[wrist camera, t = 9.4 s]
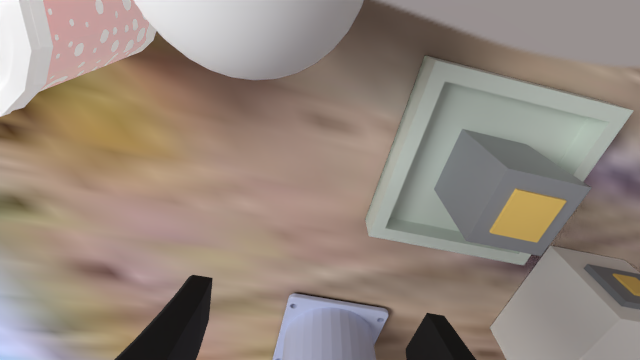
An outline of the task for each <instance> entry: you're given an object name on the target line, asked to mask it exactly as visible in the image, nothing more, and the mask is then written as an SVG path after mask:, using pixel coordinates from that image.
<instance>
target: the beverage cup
mask: <svg viewBox="0 0 640 360" xmlns="http://www.w3.org/2000/svg"><path fill="white" fill-rule="evenodd" d="M156 31H157V30H156V29H155V28H154V27H153V26H152V25H151V24H150V23H149V22H148V21H147V20H146V18H145V17H144V15H143V14H142V12H141V11H140V9H139V8H138V6H137V5H136V3H135V2H134V0H0V117H1V116H4V115H7V114H10V113H11V112H12V111H13V110H16V109H20V108H24V107H25V106H26V104H27V103H28V102H29V101H30V100H31V99H32V98H33V97H34V96H35V95H36V94H37V93H38V92H39V91H42V90H44V89H47V88H50V87H52V86H55V85H57V84H60V83H62V82H65V81H67V80H70V79H72V78H75V77H78V76H80V75H83V74H85V73H88V72H90V71H93V70H95V69H98V68H100V67H103V66H106V65H108V64H111V63H113V62H116V61H118V60H121V59H123V58H126V57H128V56H131V55H134V54H136V53H139V52H141V51H143V50H144V49H145V48H146V47H147V46H148V45H149V44H150V43H151V42H152V41H153V40H154V37H155V34H156Z"/></svg>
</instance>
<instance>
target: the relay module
mask: <svg viewBox="0 0 640 360" xmlns="http://www.w3.org/2000/svg"><path fill="white" fill-rule="evenodd" d="M590 189H591V187H590V186H588V185H587V184H585V183H584V182H582V181H581V180H579V179H578V178H576V177H575V176H573V175H572V174H570V173H569V172H567V171H566V170H564V169H563V168H561V167H560V166H558V165H557V164H555V163H554V162H552V161H551V160H549V159H548V158H546V157H545V156H543V155H542V154H540V153H539V152H537V151H536V150H534V149H533V148H531V147H530V146H528V145H527V144H523V143H519V142H515V141H511V140H506V139H502V138H498V137H494V136H490V135H486V134H481V133H477V132H473V131H469V130H465V129H462V130H461V132H460V134H459V137H458V139H457V141H456V143H455V145H454V147H453V149H452V151H451V154H450V156H449V158H448V160H447V162H446V164H445V166H444V168H443V171H442V173H441V175H440V177H439V179H438V181H437V183H436V185H435V188H434V190H435V192H436V193H437V195H438V197H439V198H440V200H441V202H442V203H443V205H444V206H445V208H446V210H447V211H448V213H449V214H450V216H451V218H452V219H453V221H454V223H455V224H456V226H457V227H458V229H459V231H460V232H461V234H462V235H463V237H464V239H465V240H466V241H468V242H473V243H478V244H483V245H488V246H493V247H498V248H503V249H508V250H513V251H518V252H523V253H528V254H533V255H538V256H541V255H542V254H543V253H544V251H545V250H546V249H547V247H548V246H549V245H550V243H551V242H552V241H553V239H554V238H555V237H556V235H557V234H558V233H559V231H560V230H561V228H562V227H563V226H564V224H565V223H566V222H567V220H568V219H569V218H570V216H571V215H572V214H573V212H574V211H575V210H576V208H577V207H578V206H579V204H580V203H581V202H582V200H583V199H584V197H585V196H586V195H587V193H588V192H589V191H590Z"/></svg>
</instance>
